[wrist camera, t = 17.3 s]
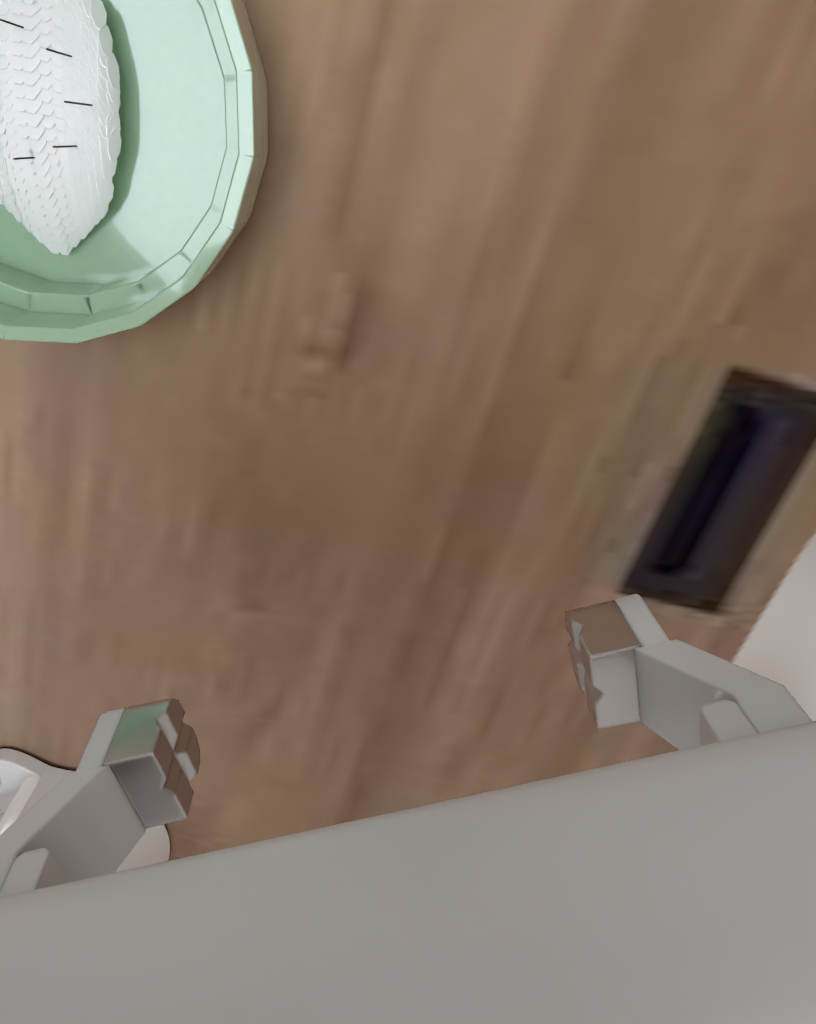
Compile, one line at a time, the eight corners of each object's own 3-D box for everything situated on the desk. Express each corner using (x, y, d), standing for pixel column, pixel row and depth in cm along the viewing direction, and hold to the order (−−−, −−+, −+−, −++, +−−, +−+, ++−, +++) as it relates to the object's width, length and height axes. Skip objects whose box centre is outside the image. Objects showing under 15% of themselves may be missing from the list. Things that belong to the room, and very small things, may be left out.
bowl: (-28, 351, 35) (-95, 390, 30) (-272, -98, 27) (-424, -156, 22) (319, 257, 34) (314, 279, 29) (176, -236, 26) (133, -330, 21)
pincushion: (134, 261, 33) (96, 283, 28) (-7, 242, 32) (-71, 261, 27) (127, -60, 28) (79, -104, 23) (-42, -93, 27) (-130, -146, 22)
